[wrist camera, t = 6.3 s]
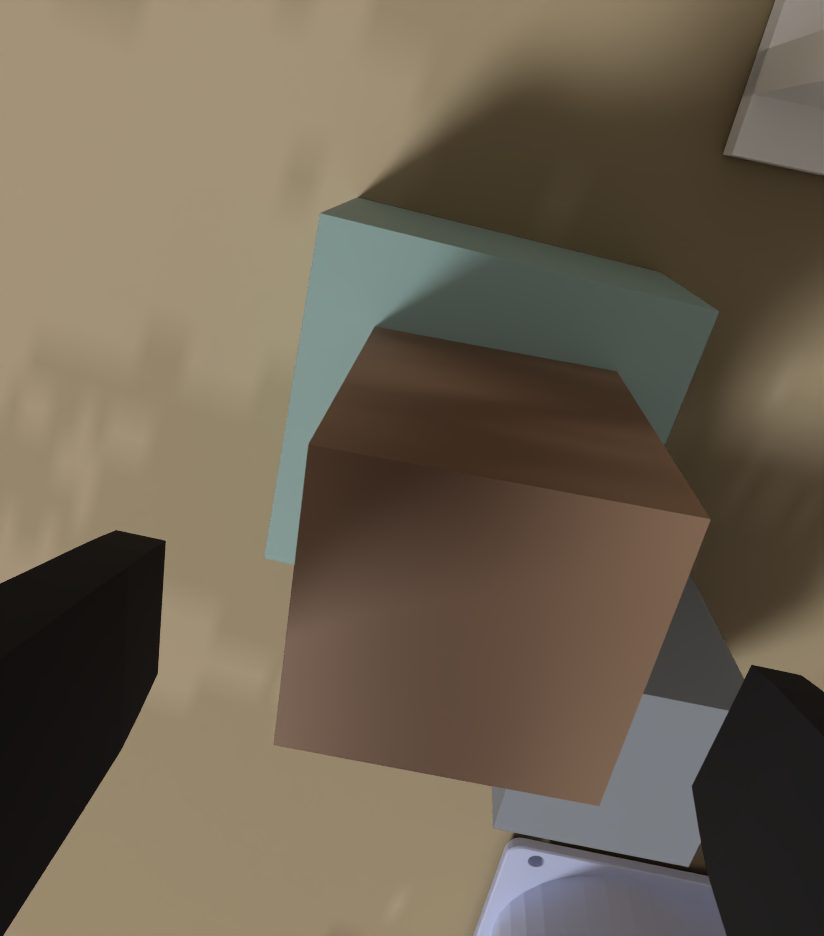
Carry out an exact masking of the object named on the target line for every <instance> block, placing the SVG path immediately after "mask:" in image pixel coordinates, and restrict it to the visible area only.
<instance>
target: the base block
mask: <svg viewBox="0 0 824 936" xmlns="http://www.w3.org/2000/svg"><path fill="white" fill-rule="evenodd" d="M718 314H719V311H718V310H717V309H715V308H714V307H712V306H711V305H709V304H708V303H706V302H705V301H703V300H702V299H700V298H699V297H697V296H695V295H694V294H692V293H691V292H689V291H688V290H686V289H685V288H683V287H682V286H680V285H679V284H677V283H676V282H674V281H673V280H671V279H670V278H668V277H667V276H665V275H664V274H662V273H661V272H658V271H654V270H650V269H646V268H641V267H637V266H633V265H629V264H625V263H621V262H617V261H613V260H609V259H605V258H601V257H597V256H593V255H589V254H585V253H581V252H577V251H573V250H569V249H565V248H560V247H556V246H552V245H548V244H544V243H540V242H536V241H532V240H528V239H524V238H520V237H516V236H512V235H508V234H504V233H500V232H496V231H492V230H488V229H484V228H479V227H475V226H471V225H467V224H463V223H459V222H455V221H451V220H447V219H443V218H439V217H435V216H431V215H427V214H423V213H419V212H415V211H411V210H407V209H402V208H398V207H394V206H390V205H386V204H382V203H378V202H374V201H370V200H366V199H362V198H358V197H357V198H355V199H353V200H350V201H348V202H345V203H343V204H341V205H338V206H336V207H334V208H331V209H329V210H326V211H324V212H322V213H320V217H319V223H318V229H317V235H316V242H315V248H314V254H313V260H312V266H311V272H310V279H309V285H308V291H307V297H306V303H305V309H304V316H303V322H302V328H301V334H300V340H299V346H298V353H297V359H296V365H295V371H294V377H293V384H292V390H291V396H290V402H289V408H288V414H287V421H286V427H285V433H284V439H283V445H282V451H281V458H280V464H279V470H278V476H277V482H276V488H275V495H274V501H273V507H272V513H271V519H270V525H269V532H268V538H267V544H266V550H265V556H264V558H266V559H271V560H275V561H279V562H283V563H288V564H292V565H294V564H295V555H296V546H297V538H298V529H299V520H300V511H301V503H302V494H303V485H304V477H305V468H306V459H307V451H308V444H309V442H310V440H311V439H312V437H313V435H314V433H315V431H316V430H317V428H318V426H319V424H320V423H321V421H322V419H323V417H324V415H325V414H326V412H327V410H328V408H329V407H330V405H331V403H332V401H333V399H334V398H335V396H336V394H337V392H338V391H339V389H340V387H341V385H342V384H343V382H344V380H345V378H346V376H347V375H348V373H349V371H350V369H351V368H352V366H353V364H354V362H355V360H356V359H357V357H358V355H359V353H360V352H361V350H362V348H363V346H364V344H365V343H366V341H367V339H368V337H369V336H370V334H371V332H372V330H373V329H374V327H380V328H385V329H391V330H396V331H401V332H407V333H412V334H417V335H423V336H428V337H434V338H439V339H444V340H450V341H455V342H461V343H466V344H471V345H477V346H482V347H488V348H493V349H498V350H504V351H509V352H515V353H520V354H525V355H531V356H536V357H542V358H547V359H552V360H558V361H563V362H569V363H574V364H579V365H585V366H590V367H596V368H601V369H606V370H612V371H617V372H618V374H619V375H620V377H621V379H622V380H623V382H624V383H625V385H626V386H627V388H628V390H629V391H630V393H631V394H632V396H633V397H634V399H635V401H636V402H637V404H638V405H639V407H640V408H641V410H642V412H643V413H644V415H645V416H646V418H647V420H648V421H649V423H650V424H651V426H652V427H653V429H654V431H655V432H656V434H657V435H658V437H659V438H660V440H661V442H662V443H663V445H664V446H665V444H666V441H667V439H668V437H669V434H670V432H671V429H672V427H673V424H674V422H675V419H676V417H677V414H678V412H679V410H680V407H681V405H682V402H683V400H684V397H685V395H686V392H687V390H688V387H689V385H690V383H691V380H692V378H693V375H694V373H695V370H696V368H697V365H698V363H699V360H700V358H701V356H702V353H703V351H704V348H705V346H706V343H707V341H708V338H709V336H710V333H711V331H712V329H713V326H714V324H715V321H716V319H717V316H718Z"/></svg>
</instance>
